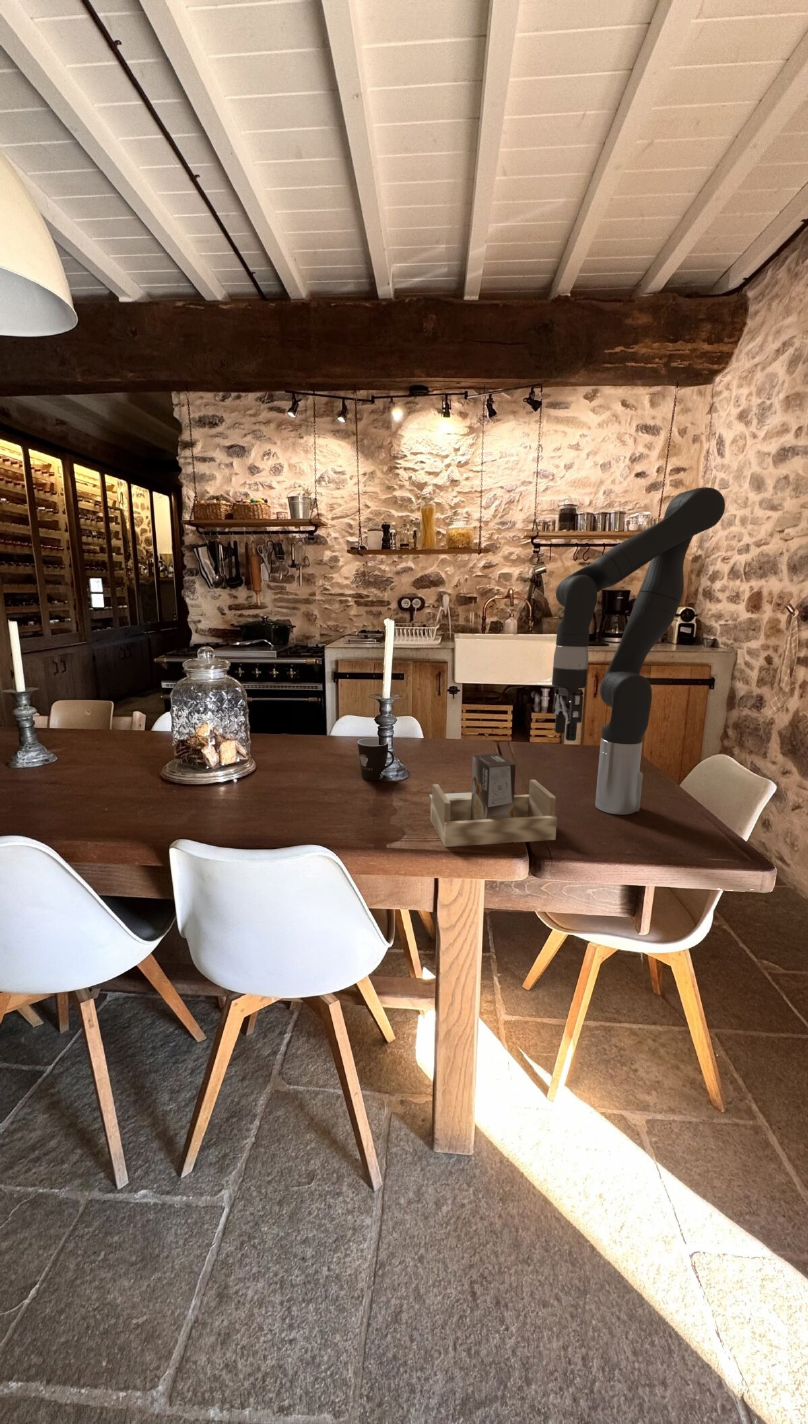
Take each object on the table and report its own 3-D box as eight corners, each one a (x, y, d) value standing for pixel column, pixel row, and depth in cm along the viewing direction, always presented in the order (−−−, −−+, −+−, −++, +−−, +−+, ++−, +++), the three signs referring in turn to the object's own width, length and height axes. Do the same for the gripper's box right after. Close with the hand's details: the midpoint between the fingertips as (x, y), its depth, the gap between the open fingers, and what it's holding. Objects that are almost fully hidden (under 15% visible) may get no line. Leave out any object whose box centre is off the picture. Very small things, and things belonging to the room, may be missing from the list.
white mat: (497, 792, 151) (497, 791, 151) (513, 810, 139) (513, 808, 139) (429, 796, 148) (429, 794, 148) (440, 814, 136) (440, 812, 136)
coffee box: (513, 836, 125) (517, 764, 122) (486, 840, 123) (489, 767, 120) (494, 820, 134) (497, 752, 130) (468, 823, 132) (471, 754, 128)
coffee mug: (353, 773, 165) (353, 739, 163) (382, 770, 168) (383, 736, 166) (366, 786, 155) (366, 750, 152) (396, 783, 158) (397, 747, 155)
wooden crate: (530, 814, 137) (532, 777, 135) (555, 839, 124) (558, 799, 122) (430, 820, 133) (431, 782, 131) (445, 846, 120) (446, 805, 118)
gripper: (597, 669, 125) (591, 743, 128) (576, 664, 139) (571, 731, 142) (563, 668, 125) (557, 742, 127) (545, 663, 139) (540, 730, 141)
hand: (564, 736), depth 135 cm, fingers open, 8 cm apart
